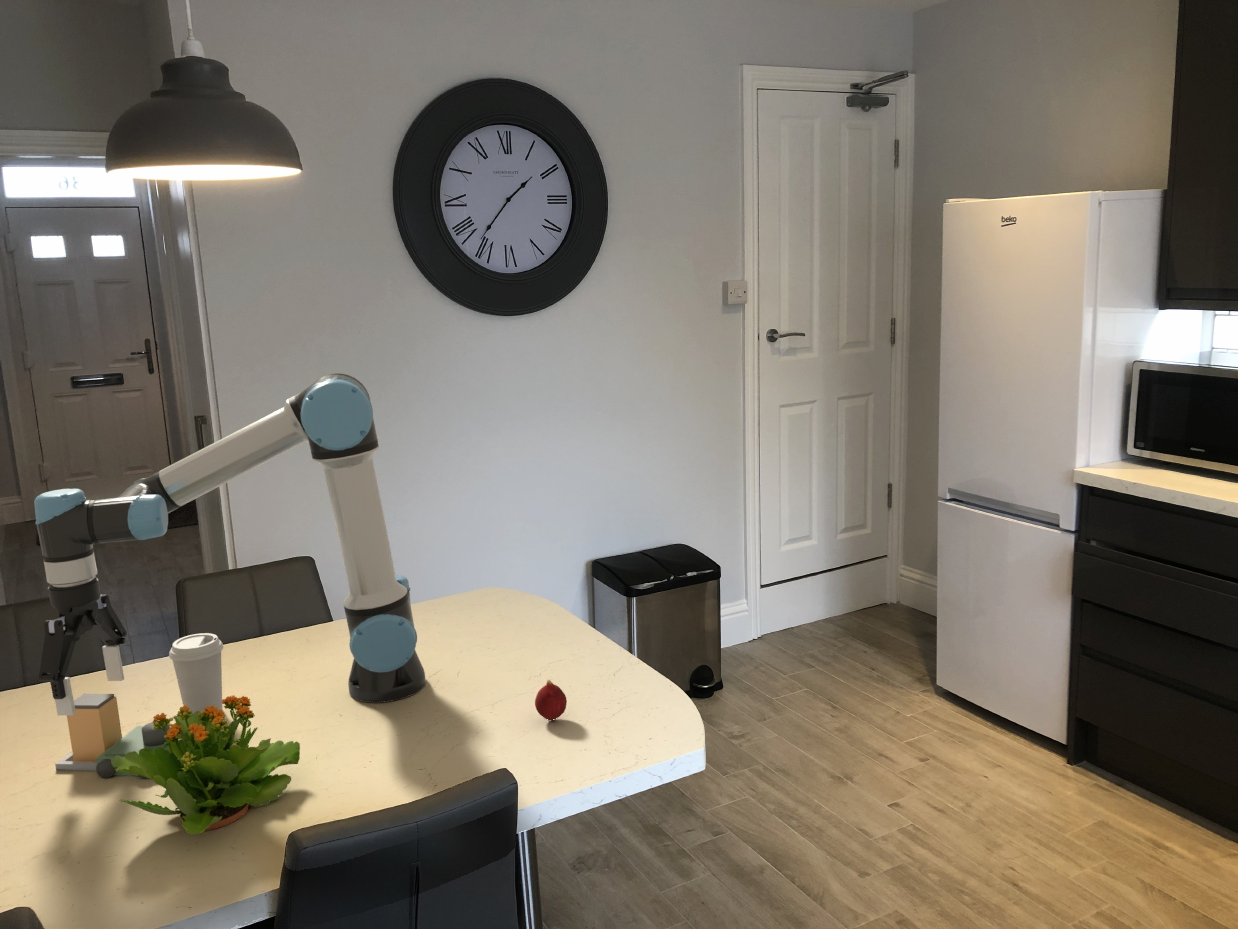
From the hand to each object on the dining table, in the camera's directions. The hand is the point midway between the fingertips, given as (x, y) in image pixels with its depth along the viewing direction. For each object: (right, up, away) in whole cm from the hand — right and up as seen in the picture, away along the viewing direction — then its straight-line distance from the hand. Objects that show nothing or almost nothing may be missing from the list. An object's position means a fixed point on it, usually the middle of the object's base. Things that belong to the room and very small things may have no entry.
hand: (92, 696), depth 166 cm
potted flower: (+28, -14, -18) cm, 36 cm away
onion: (+79, -7, +10) cm, 80 cm away
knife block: (0, -11, +2) cm, 11 cm away
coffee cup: (+12, -8, +18) cm, 23 cm away
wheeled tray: (+5, -11, +2) cm, 12 cm away
